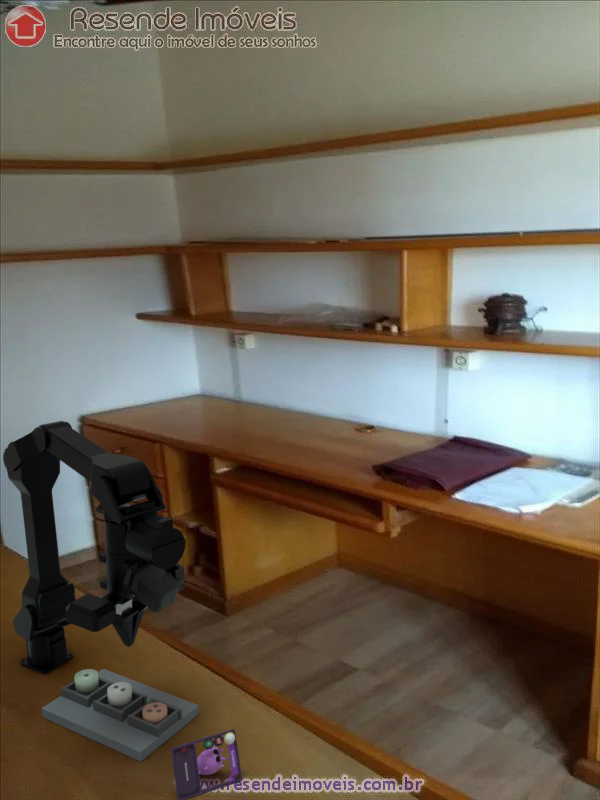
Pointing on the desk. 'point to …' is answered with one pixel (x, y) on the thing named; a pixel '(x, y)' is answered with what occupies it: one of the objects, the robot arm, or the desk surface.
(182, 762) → the game card
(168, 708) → the button board
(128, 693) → the grey button
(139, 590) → the robot arm
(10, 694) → the desk surface
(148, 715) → the terracotta button
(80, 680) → the sage button
